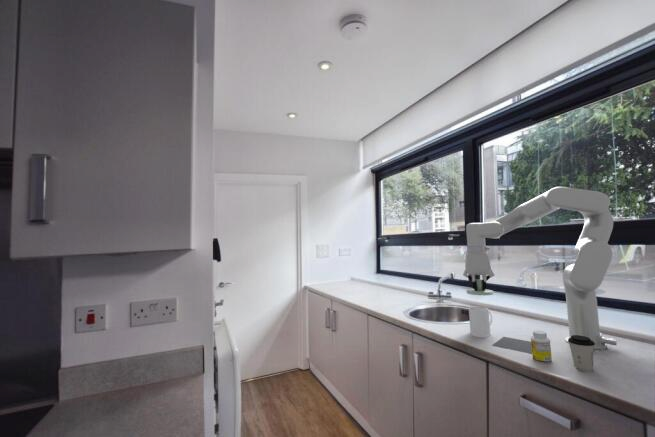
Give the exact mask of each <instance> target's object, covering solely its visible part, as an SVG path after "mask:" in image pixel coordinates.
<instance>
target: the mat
mask: <svg viewBox="0 0 655 437" xmlns="http://www.w3.org/2000/svg"><path fill="white" fill-rule="evenodd" d="M491 346H493V347H497V348H502V349H507V350H510V351H511V350H512V351H516V352H521V353H525V354H529V355H532V345H531V340H530V341H528V340H523V339H519V338H513V337H508V336H502V337H501V338H500V339H498V340H497V341H495V342H494V343H492V345H491Z"/></svg>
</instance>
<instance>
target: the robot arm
mask: <svg viewBox="0 0 655 437" xmlns="http://www.w3.org/2000/svg"><path fill="white" fill-rule="evenodd" d="M610 206H611V200H610V198H609V196H608V195H607V194H606V193H604V192H601V191H597V190H589V189H581V188H573V187H566V186H555V187H552V188H550V189H549V190H547V191H544V192H543V193H542V194H540V195H538V196H535V197H533V198H532V199H530V200H528V201H526V202H524V203H522V204H520V205H518V206H517V207H516V208H514V209H512V210H511V211H509V212H508V213H506V214H504V215H503V216H500V217H498V218H497V219H495V220H493V221H488V222H487V221H486V222H470V223H468V224H466V226H465V227H466V228H465V229H466V231H465V232H466V241H467V242H466V245H467V252H466V253H465V261H464V262H465V270H464V272H463V274H462V276H464V277H465V278H468V279H469V280H470V281H471V283H472V284H471V285H472V286H471V287H472V289H474V290H475V291H477V285H476V276H481V279H482V283H483V291H485V289H487V282H488V281H489V279H491V278H493V277H495V273H494V271H493V270H492V269H491V261H490V256H489V253H488V252H487V251H490V246H487V245H486V238H487V239H498V238H501V237H502V236H504V235H506V234H507V233H509V232H512V231H514V230H515V229H518V228H520V227H523V226H526V225H529V224H532V223H533V222H536V221H537V220H540V219H542V218H543V217H546V216H547V215H549V214H552V213H554V212H556V211H558V210H561V209H564V210H568V211H575V212H578V213H580V214H581V215H582V216H583V218H584V219H583V220H584V224H583V226H582V227H583V228H582V231H581V233H580V235H579V237H578V239H577V242H576V245H575V247H574V255H575V257H576V258H575V261H574V263H572V264H569V265H567V266H566V267H565V268H564V269H563V270H562V272H563V273H562V281H563V282H562V283H563V286H564V292H565V299H566V300H565V302H566V303H565V304H566V312H567V322H568V323H567V324H568V332H569V336H567V337H565V339H564V340H565V343H567V344H569V342H568V339H569V338H571V336H572V335H580V336H585V337H588V338H590V340H592V341H593V342H594V343H595V345H594V350H595V351H597V350H605V349H606V348H608V347H607V346H608V345H610V346H617V344H618V343H617V339H613V338H612V337H611V338H610V337H605V336H603V333H601V329H600V321H599V319H600V318H599V311H598V310H599V309H598V299H597V293H596V290H597V289H598V288H600V286H601V285H602V282H603V281H604V278H605V276H606V274H607V272H608V269H609V266H610V265H611V262H612V259H613V249H612V246H610V244H609V243H608V242H609V240H610V237H611V234H612V232H613V229H614V217H613V215H612V213H611V211H610V209H609V208H610Z"/></svg>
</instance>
